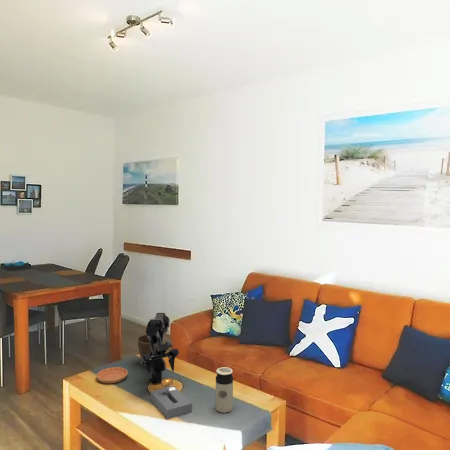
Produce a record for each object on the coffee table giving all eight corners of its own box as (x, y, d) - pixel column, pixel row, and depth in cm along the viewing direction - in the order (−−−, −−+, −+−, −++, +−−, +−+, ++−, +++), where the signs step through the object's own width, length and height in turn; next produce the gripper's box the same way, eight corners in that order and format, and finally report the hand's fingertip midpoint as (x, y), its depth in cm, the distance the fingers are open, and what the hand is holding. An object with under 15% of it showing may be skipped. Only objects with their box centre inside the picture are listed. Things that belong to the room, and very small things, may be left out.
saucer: (90, 382, 208) (90, 376, 208) (109, 370, 223) (109, 364, 223) (115, 387, 203) (115, 382, 202) (133, 375, 217) (133, 369, 217)
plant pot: (151, 373, 219) (152, 344, 218) (130, 366, 226) (131, 339, 226) (168, 364, 232) (169, 337, 231) (148, 358, 239) (149, 332, 239)
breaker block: (150, 399, 191) (150, 391, 190) (173, 393, 197) (173, 385, 197) (167, 419, 174) (167, 409, 173) (191, 411, 180) (191, 402, 180)
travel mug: (220, 402, 188) (220, 365, 187) (235, 406, 185) (235, 368, 184) (212, 410, 181) (212, 372, 180) (228, 414, 178) (228, 375, 177)
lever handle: (161, 398, 189) (161, 379, 188) (170, 396, 191) (170, 376, 191) (163, 401, 186) (163, 381, 185) (173, 399, 188) (173, 379, 188)
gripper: (142, 339, 189) (151, 370, 181) (178, 332, 199) (187, 362, 191) (136, 349, 196) (144, 380, 188) (170, 342, 207) (179, 371, 198)
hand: (164, 373), depth 191 cm, fingers open, 9 cm apart
